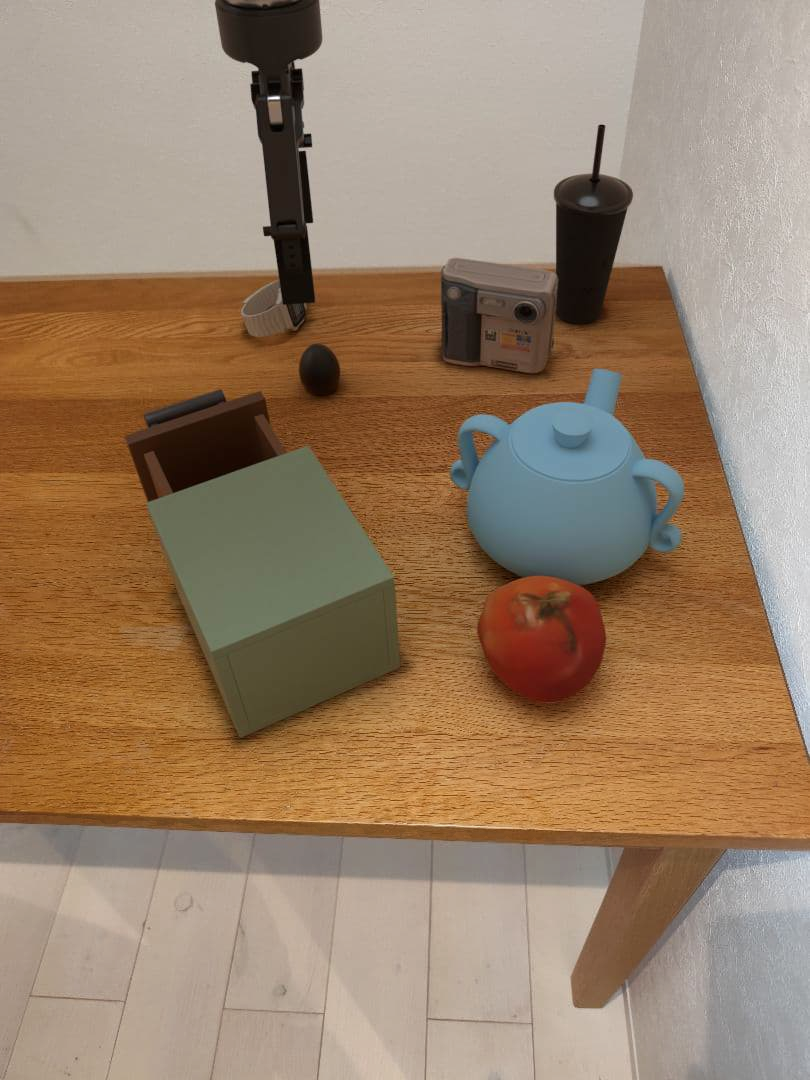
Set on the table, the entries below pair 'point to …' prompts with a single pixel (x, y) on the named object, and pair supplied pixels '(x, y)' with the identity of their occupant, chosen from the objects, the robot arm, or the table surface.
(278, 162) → the robot arm
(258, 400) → the drawer
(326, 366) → the egg
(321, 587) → the cabinet
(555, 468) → the teapot
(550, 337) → the camera
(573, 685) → the tomato
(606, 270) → the drinking cup
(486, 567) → the table surface
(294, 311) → the wristwatch
